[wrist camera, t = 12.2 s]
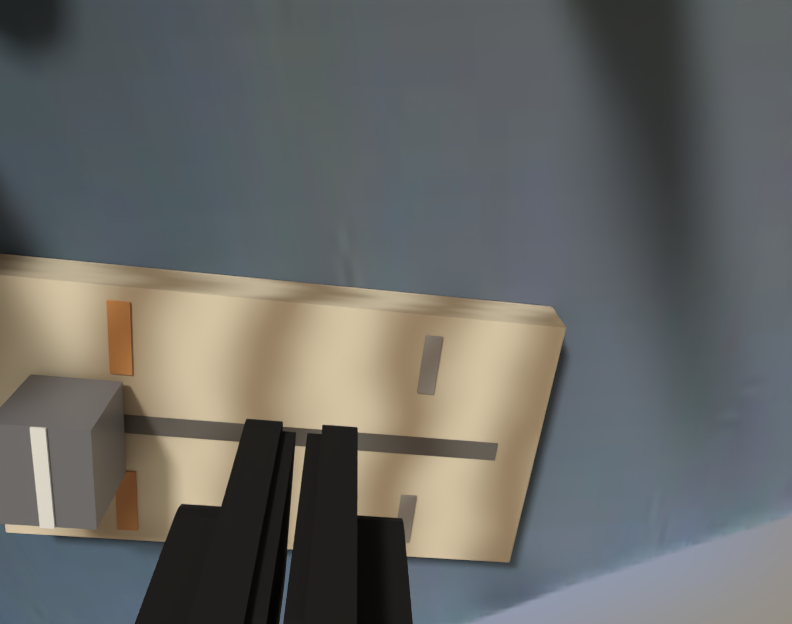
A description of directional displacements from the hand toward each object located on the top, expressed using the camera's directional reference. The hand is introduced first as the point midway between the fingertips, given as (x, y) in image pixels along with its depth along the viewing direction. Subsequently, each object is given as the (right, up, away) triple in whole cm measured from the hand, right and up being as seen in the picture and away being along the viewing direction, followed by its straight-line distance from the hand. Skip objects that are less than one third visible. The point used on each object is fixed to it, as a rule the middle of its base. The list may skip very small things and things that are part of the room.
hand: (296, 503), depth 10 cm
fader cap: (-13, -2, +21) cm, 25 cm away
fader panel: (-5, -2, +25) cm, 25 cm away
